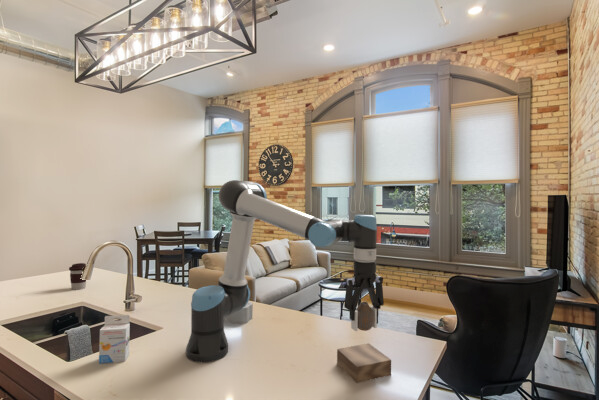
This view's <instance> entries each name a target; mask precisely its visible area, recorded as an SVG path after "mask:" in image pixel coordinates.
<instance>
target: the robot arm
mask: <svg viewBox="0 0 599 400" xmlns="http://www.w3.org/2000/svg"><path fill="white" fill-rule="evenodd" d="M267 196H268V195H267V192H266V189H265V188H264V187H263V186H262V185H261V184H260V183H258V182H254V181H247V180H237V179H235V180H233V179H232V180H229V181H227V182H225V183H224V184H222V185H221V187H220V189H219V191H218V201H219V203H220V205H221V206H222V207H223V208H224V209H225V210H227V211H229V213H230V215H231V216H232V220H231V221H232V222H231V226H230V232H229V233H230V234H229V238H228V239H229V240H228V246H227V249H226V258H225V263H224V268H223V274H222V275H221V276H220V277H218V282H217V285H213V284H212V285H207V286H202V287H199V288H197V289H196V290H195V291H193V293H192V296H191V303H190V307H191V310H190V311H191V312H190V313H191V316H190V317H191V318H190V319H191V320H190V321H191V325H190V326H191V330H190V331H191V332H190V336H189V338H188V342H187V344H186V349H185V357H186V359H187V360H188V361H191V362H196V363H209V362H214V361H218V360H220V359H222V358H224V357H225V356H227V355H228V353H229V342H228V338H227V336H226V332H225V319H224V318H225V317H227V316H229V315H231V314H233V313H234V312H237V311H239V310H241V309H242V308H243V307H244V306H245V305H246V304H247V303H248V301H249V302H250V299H251V290H250V288H249V285H248V280H247V278H246V276H245V275H246V271H247V265H248V258H249V255H250V250H251V249H250V248H251V247H250V246H251V242H252V238H253V237H252V236H253V231H254V226H255V221H256V220H258V221H261V222H264V223H267V224H269V225H272V226H274V227H277V228H278V229H281V230H284V231H287V232H288V233H291V234H294V235H296V236H299V237H301V238H303V239H306V240H307V241H310V243H311V244H312V245H313V246H315V247H318V248H326V247H328V246H331V245H333V244H336V243H338V242H346V243H347V242H348V243H353V259H354V261H353V276H352V277H351V278H345V285H346V287H345V296H344V297H345V298H344V306H343V307H344V308H345V309H346V310H348V311H349V320H350V321H351V323H350V324H351V325H350V326H351V329H352V330H353V331H354V332H358V330H359V329H358V311H356V309H357V307H358V304H359V301H360V298H361V296H362V295H361V294H362V292H363V291H364V289H367V292H368V295H369V299H370V301H371V305H372V306H370V308H371V309H372V311H373V313H374V325H373V327H372V328H374V329H377V327H378V326H377V323H378V321H377V318H378V317H379V309H381V306H382V307H383V306H384V305H385V303H384V291H383V282H384V277H383V276H381V275H377V274H376V273H377V262H376V260H377V239H378V238H377V237H378V236H377V234H378V227H377V226H378V224H377V217H376V216H375V215H374V214H355V215H354V218H353V219H350V220H346V219H332V218H331V219H330V218H329V219H321V218H318V217H315V216H313V215H310V214H308V213H305V212H302V211H300V210H297V209H294V208H291V207H290V206H287V205H284V204H282V203H281V204H280V203H279V202H276V201H273V200H270V199H268V197H267ZM374 283H375V284H374Z"/></svg>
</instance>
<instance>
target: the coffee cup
mask: <svg viewBox="0 0 599 400" xmlns="http://www.w3.org/2000/svg"><path fill="white" fill-rule="evenodd" d="M85 265H87V264H86V263H83V262H80V263H73V264H72V265H71V266H70V267H69V268H68V271H70V273H69V277H70V279H69V280H70V285H71V286H70V288H71V290H73V291H74V290H75V291H77V290H83V289H85V288H86V287H87V281H86V280H82V279H80V278H81V275H82V268H83V267H84V266H85Z"/></svg>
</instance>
